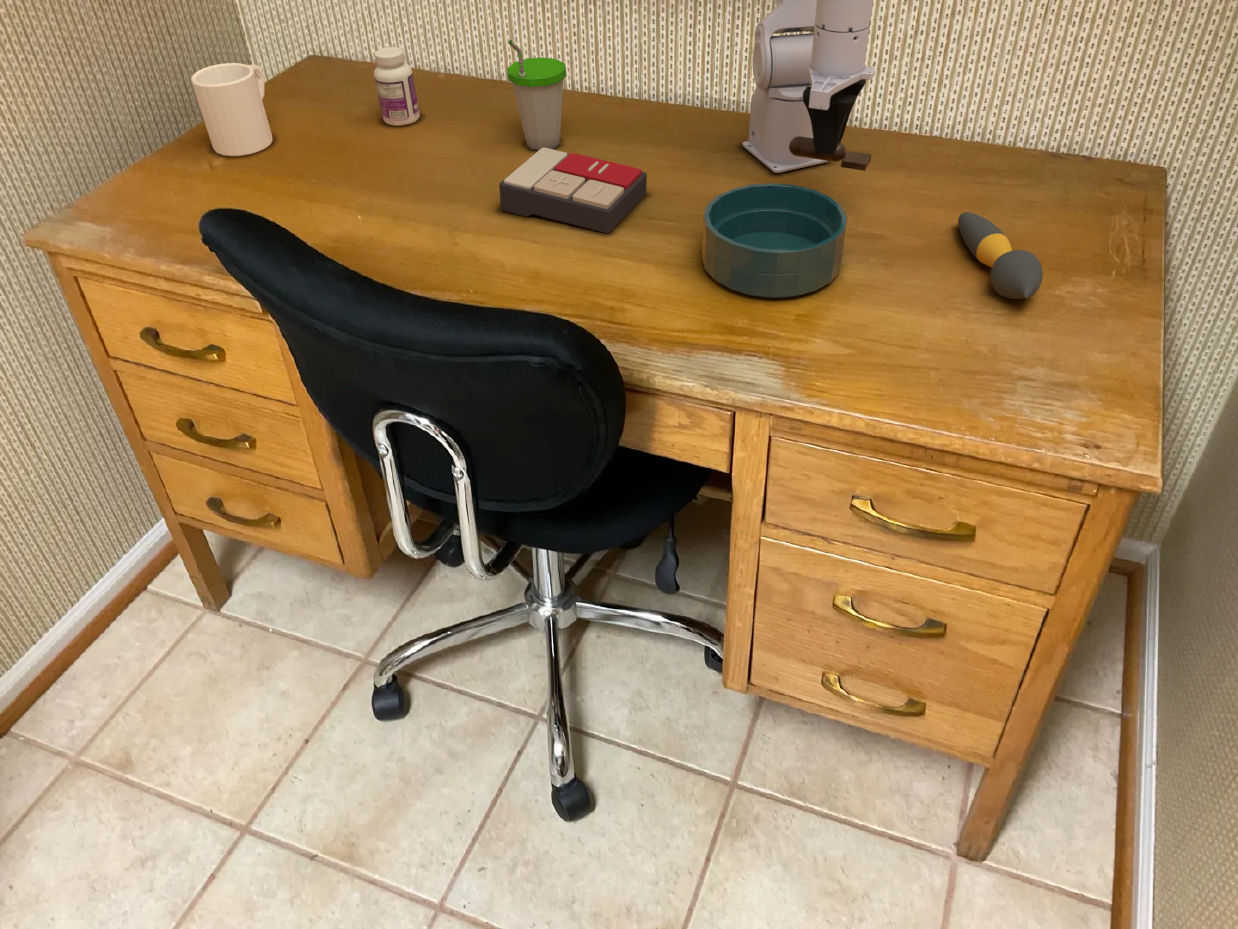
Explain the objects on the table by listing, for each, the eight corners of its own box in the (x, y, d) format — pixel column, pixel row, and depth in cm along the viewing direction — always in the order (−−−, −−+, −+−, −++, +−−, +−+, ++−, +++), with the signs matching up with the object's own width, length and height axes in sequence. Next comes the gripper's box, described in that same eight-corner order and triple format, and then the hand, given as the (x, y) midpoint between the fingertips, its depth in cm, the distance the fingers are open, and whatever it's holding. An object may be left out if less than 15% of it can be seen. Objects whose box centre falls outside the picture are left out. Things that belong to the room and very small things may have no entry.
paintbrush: (929, 228, 113) (938, 188, 110) (969, 223, 114) (979, 184, 111) (1008, 322, 99) (1021, 280, 96) (1054, 316, 100) (1068, 274, 96)
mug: (299, 124, 141) (281, 55, 134) (250, 159, 133) (229, 87, 126) (252, 118, 143) (232, 50, 136) (201, 152, 135) (178, 81, 128)
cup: (562, 128, 137) (554, 17, 127) (578, 150, 132) (571, 36, 122) (509, 137, 136) (496, 25, 125) (522, 160, 130) (510, 45, 120)
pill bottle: (402, 108, 144) (389, 41, 138) (427, 116, 142) (416, 48, 135) (375, 121, 141) (361, 53, 134) (401, 129, 139) (388, 61, 132)
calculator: (609, 206, 112) (497, 177, 117) (609, 239, 115) (499, 210, 120) (648, 166, 119) (541, 141, 124) (647, 198, 122) (542, 172, 127)
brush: (785, 158, 112) (786, 140, 111) (791, 148, 114) (793, 130, 113) (865, 170, 109) (868, 152, 108) (870, 160, 111) (873, 142, 110)
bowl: (680, 247, 112) (681, 199, 108) (796, 220, 116) (801, 172, 112) (741, 315, 101) (744, 264, 97) (866, 282, 105) (874, 232, 101)
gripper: (864, 51, 96) (847, 180, 105) (895, 5, 105) (876, 127, 114) (794, 43, 98) (783, 170, 107) (831, -1, 107) (817, 119, 117)
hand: (827, 148), depth 111 cm, fingers closed on brush, 2 cm apart
